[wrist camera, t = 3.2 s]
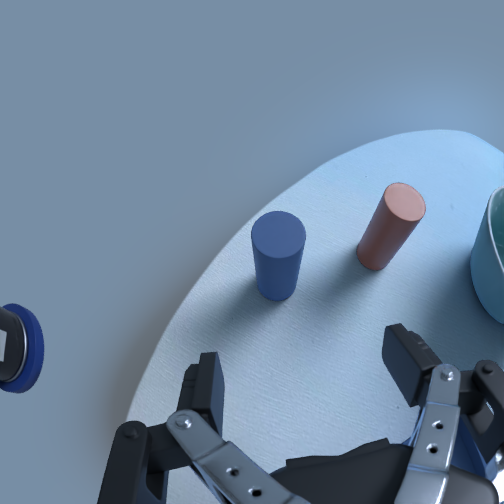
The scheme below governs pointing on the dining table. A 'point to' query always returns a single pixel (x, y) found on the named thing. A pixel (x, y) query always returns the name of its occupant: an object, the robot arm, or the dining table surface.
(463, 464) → the blue tray
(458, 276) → the dining table surface
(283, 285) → the blue peg
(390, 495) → the robot arm
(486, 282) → the bowl
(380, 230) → the terracotta peg
